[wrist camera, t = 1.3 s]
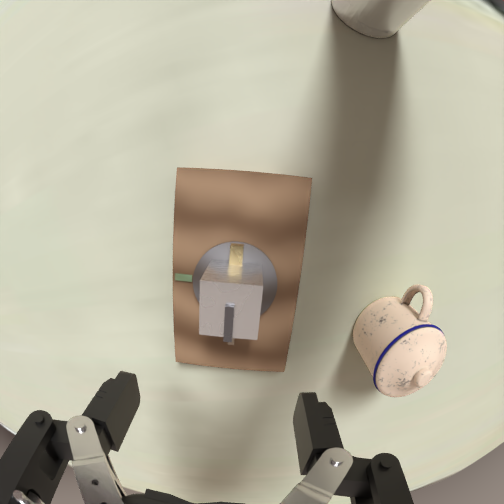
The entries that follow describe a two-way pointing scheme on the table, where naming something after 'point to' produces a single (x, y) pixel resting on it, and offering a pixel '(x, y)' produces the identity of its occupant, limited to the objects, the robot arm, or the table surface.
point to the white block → (231, 297)
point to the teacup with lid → (400, 343)
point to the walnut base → (255, 251)
